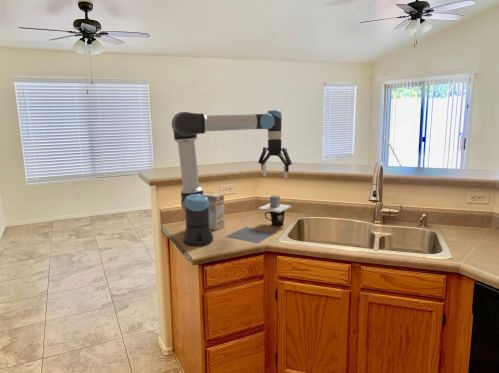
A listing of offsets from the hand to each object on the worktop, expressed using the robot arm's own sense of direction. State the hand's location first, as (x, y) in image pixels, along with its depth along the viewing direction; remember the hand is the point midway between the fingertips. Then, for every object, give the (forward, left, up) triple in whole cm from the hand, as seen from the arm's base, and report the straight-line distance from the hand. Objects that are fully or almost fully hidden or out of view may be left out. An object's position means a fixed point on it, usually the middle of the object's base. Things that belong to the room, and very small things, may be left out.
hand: (274, 176), depth 206 cm
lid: (0, 0, -18) cm, 18 cm away
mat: (-2, -22, -28) cm, 36 cm away
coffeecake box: (-30, -21, -29) cm, 46 cm away
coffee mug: (0, 0, -29) cm, 29 cm away
